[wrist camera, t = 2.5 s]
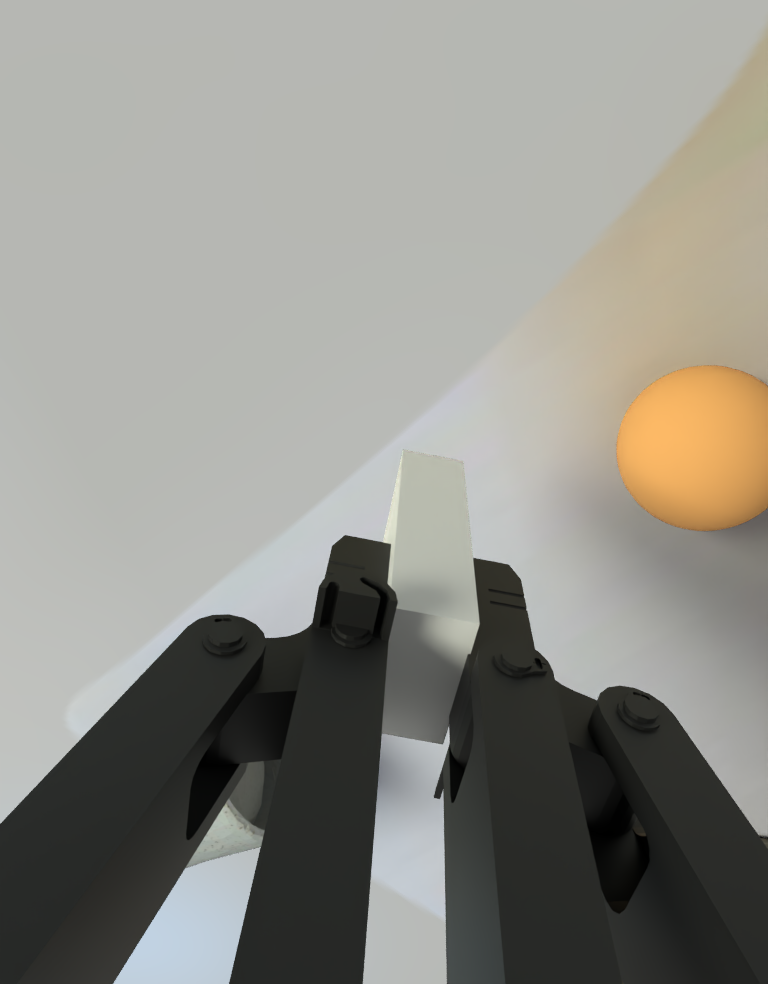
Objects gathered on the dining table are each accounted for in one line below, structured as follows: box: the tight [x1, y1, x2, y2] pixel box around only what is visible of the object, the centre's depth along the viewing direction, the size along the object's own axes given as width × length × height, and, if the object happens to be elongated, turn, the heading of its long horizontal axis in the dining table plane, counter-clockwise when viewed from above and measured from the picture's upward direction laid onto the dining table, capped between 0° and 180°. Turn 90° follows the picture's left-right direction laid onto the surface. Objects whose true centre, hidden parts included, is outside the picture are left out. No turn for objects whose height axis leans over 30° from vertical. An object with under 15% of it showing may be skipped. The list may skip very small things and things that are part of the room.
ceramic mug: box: [186, 759, 281, 868], centre depth 33 cm, size 10×8×7 cm
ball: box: [617, 366, 768, 531], centre depth 25 cm, size 6×6×6 cm
